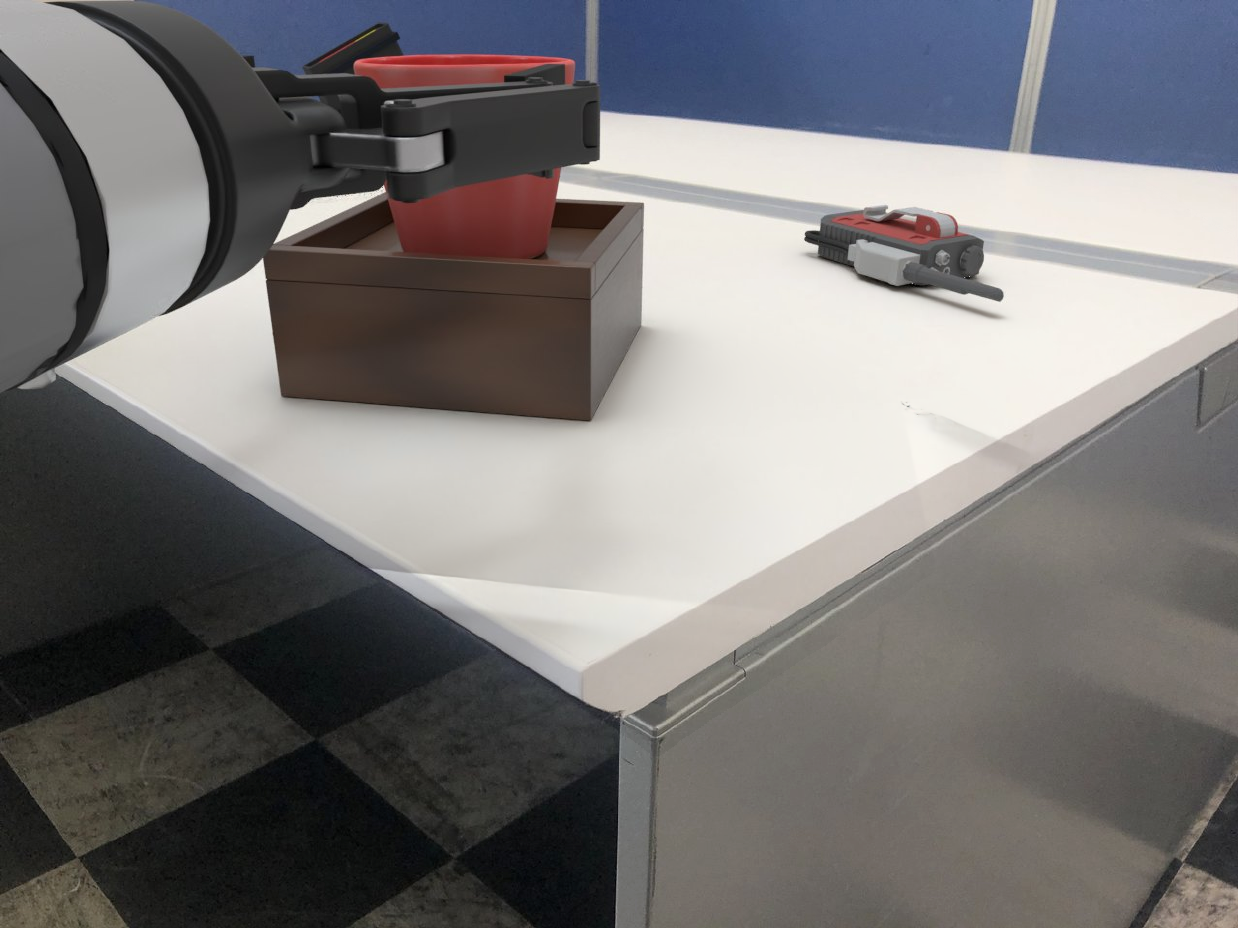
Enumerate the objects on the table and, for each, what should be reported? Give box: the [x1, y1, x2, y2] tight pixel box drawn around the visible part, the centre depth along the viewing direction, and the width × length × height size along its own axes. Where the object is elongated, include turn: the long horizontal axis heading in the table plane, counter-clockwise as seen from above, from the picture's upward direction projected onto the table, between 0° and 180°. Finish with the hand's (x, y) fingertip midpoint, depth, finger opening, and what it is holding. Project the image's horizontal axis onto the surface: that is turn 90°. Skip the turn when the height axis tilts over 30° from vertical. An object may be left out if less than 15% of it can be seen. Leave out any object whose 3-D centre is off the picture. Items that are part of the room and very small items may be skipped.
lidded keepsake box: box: [262, 191, 645, 421], centre depth 56 cm, size 16×16×8 cm
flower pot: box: [354, 53, 576, 259], centre depth 53 cm, size 11×11×10 cm
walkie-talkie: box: [803, 204, 1005, 303], centre depth 74 cm, size 9×4×20 cm
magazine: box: [301, 21, 405, 114], centre depth 121 cm, size 4×13×15 cm, turn 123°
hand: (400, 93), depth 43 cm, fingers open, 13 cm apart
